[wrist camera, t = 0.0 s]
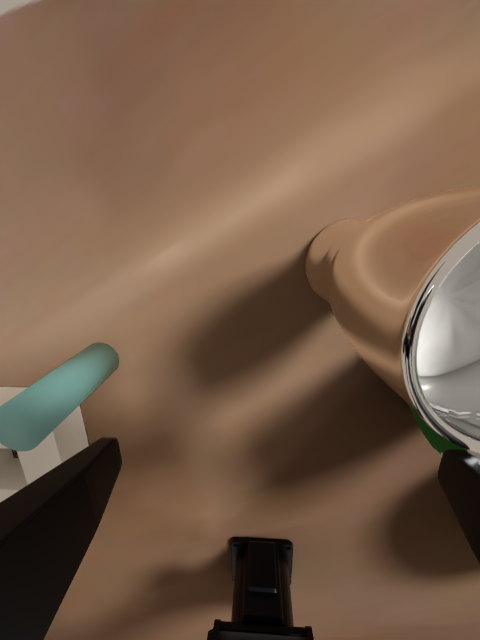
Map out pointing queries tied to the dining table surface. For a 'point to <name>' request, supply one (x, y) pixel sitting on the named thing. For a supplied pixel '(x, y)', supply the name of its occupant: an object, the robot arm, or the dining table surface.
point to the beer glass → (412, 302)
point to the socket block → (39, 450)
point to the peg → (54, 397)
